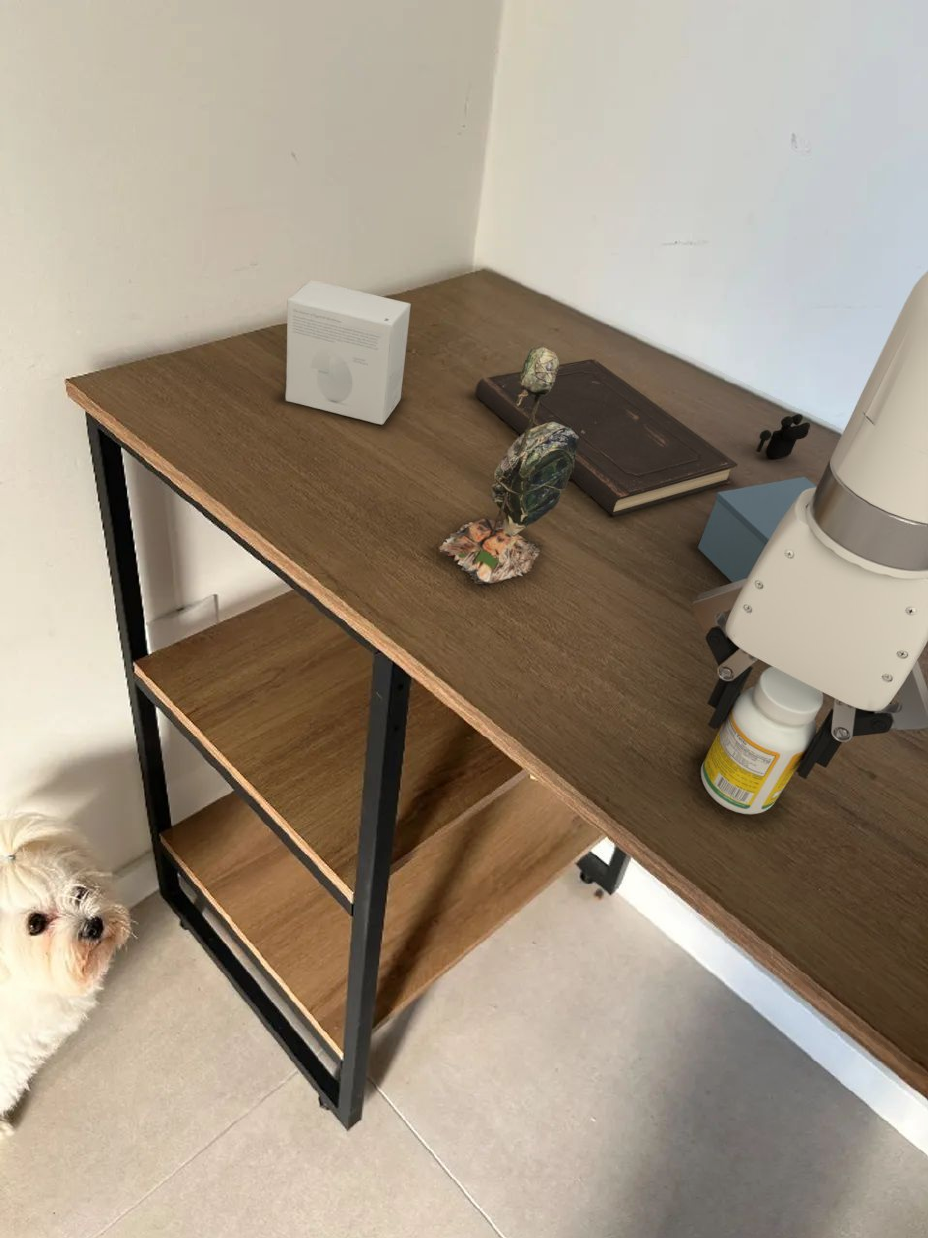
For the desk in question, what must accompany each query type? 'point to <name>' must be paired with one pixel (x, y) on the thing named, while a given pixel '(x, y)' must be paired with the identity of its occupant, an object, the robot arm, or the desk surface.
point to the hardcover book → (614, 437)
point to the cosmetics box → (345, 351)
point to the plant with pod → (520, 487)
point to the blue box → (747, 524)
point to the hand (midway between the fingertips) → (763, 737)
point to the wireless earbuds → (784, 437)
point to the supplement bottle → (761, 742)
